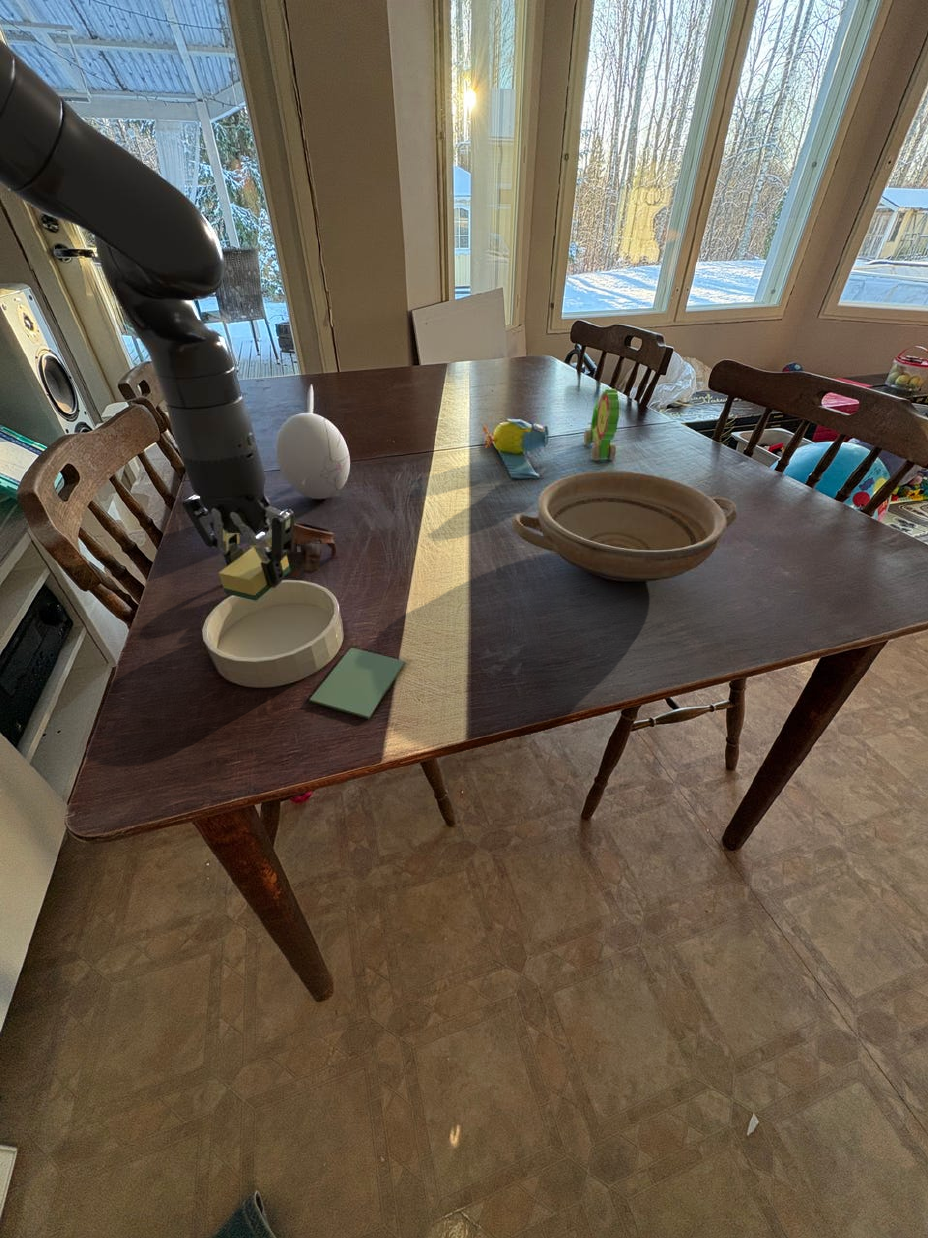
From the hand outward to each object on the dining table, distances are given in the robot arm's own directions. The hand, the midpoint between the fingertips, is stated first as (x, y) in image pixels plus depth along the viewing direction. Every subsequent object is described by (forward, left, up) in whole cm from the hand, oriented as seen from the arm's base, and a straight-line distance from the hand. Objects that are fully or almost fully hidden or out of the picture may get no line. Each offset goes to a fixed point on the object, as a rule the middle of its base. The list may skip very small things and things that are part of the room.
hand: (258, 579), depth 64 cm
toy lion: (+85, -31, -11) cm, 91 cm away
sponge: (0, 0, 0) cm, 0 cm away
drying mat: (-3, -14, -10) cm, 18 cm away
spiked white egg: (+45, +21, -11) cm, 51 cm away
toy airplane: (+77, -12, -11) cm, 79 cm away
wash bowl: (0, 0, -10) cm, 10 cm away
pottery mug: (+18, +7, -11) cm, 22 cm away
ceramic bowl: (+37, -41, -11) cm, 57 cm away
